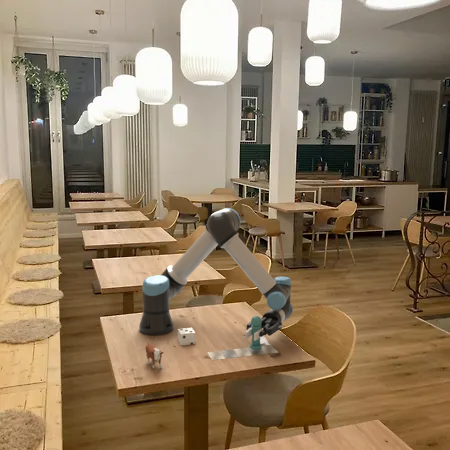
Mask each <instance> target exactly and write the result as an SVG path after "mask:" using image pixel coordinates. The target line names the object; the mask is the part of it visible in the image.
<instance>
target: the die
mask: <svg viewBox="0 0 450 450" xmlns="http://www.w3.org/2000/svg"><path fill="white" fill-rule="evenodd" d="M177 341H178V343H179V345H180V346H188V345H196V332H195V330H194V328H193V327H185V328H177Z"/></svg>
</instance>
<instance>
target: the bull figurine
mask: <svg viewBox="0 0 450 450" xmlns="http://www.w3.org/2000/svg"><path fill="white" fill-rule="evenodd" d="M145 353H146V354H145V355H146V359H147V365H151V362H152V370H155V368H156V367H155V364H159V365H158V369H159V370H162V369H163V367H162V355H163V354H164V351H161V350H160V349H159V348H158V347H156V346H155V345H154V344H152V343H150V342H148V343H147V345H145ZM150 359H151V361H150Z"/></svg>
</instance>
